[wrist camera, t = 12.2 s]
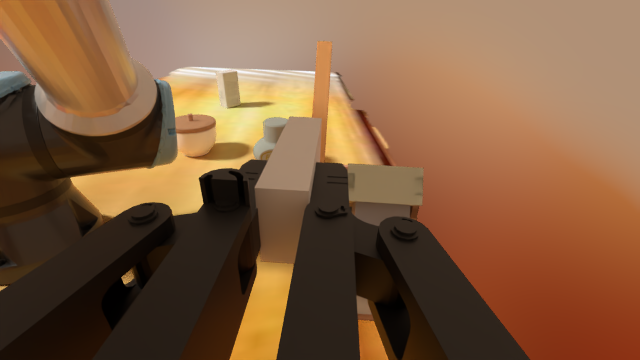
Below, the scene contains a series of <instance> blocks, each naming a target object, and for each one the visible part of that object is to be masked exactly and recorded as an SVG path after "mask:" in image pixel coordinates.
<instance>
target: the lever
mask: <svg viewBox="0 0 640 360" xmlns="http://www.w3.org/2000/svg"><path fill="white" fill-rule="evenodd" d="M331 53H332V42H326V41H318V43H317V57H316V71H315V85H314V100H313V114H312V118H322V124H321V151H320V162H322V163H324V161H325V146H326V130H327V115H328V100H329V84H330V68H331ZM348 189H349V207H352V214H353V215H354V216H355V217H357V218H358V219H360V220H362V221H364V222H366V223H369V224H373V225H376V226H379V225H380V222H381V221H383V220H384V219H386V218H389V217H394V216H400V217H407V218H410V206H420V205H421V206H422V196H423V195H422V194H423V168H414V167H398V166H381V165H365V164H348Z"/></svg>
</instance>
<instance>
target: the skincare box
mask: <svg viewBox="0 0 640 360" xmlns="http://www.w3.org/2000/svg"><path fill="white" fill-rule="evenodd" d="M216 77H217V84H218V91H219V98H220V105H221V106H222V107H225V108H230V107H234V106H238V105H241V104H240V95H239V86H238V76H237V71H233V70H226V71H218V72H216Z"/></svg>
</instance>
